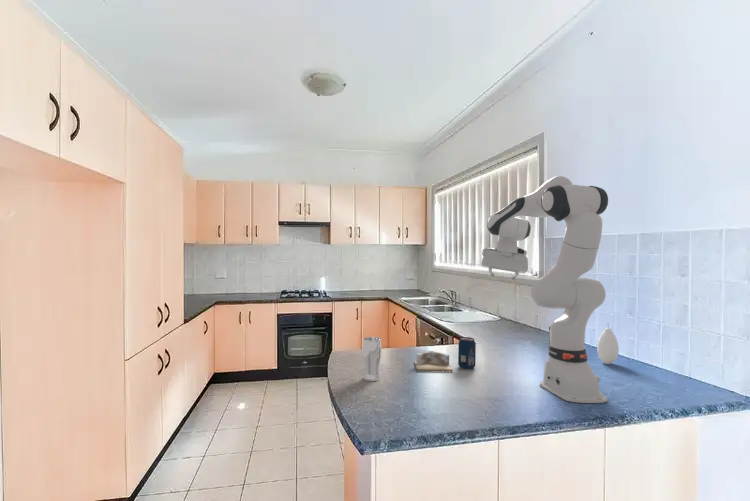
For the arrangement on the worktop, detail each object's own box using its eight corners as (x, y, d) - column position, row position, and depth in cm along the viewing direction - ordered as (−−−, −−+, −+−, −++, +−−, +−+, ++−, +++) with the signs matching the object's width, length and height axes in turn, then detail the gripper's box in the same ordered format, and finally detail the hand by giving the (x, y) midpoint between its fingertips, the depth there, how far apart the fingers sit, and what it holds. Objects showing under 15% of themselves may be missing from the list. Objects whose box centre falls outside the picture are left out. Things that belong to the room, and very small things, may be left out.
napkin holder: (452, 372, 154) (452, 359, 154) (417, 371, 154) (417, 359, 154) (447, 362, 167) (447, 351, 167) (414, 362, 167) (414, 350, 167)
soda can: (462, 364, 165) (463, 335, 165) (478, 367, 161) (478, 338, 161) (455, 367, 160) (455, 338, 160) (470, 371, 155) (471, 341, 155)
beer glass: (358, 379, 143) (359, 339, 143) (367, 374, 149) (368, 335, 149) (375, 383, 140) (376, 341, 140) (384, 377, 146) (384, 337, 146)
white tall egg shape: (593, 362, 170) (593, 321, 170) (604, 360, 173) (605, 320, 173) (610, 367, 163) (611, 324, 163) (622, 365, 166) (622, 323, 166)
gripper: (484, 244, 178) (480, 273, 174) (530, 251, 174) (527, 281, 170) (482, 248, 184) (478, 276, 180) (527, 255, 180) (524, 284, 176)
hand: (502, 279), depth 175 cm, fingers open, 8 cm apart
